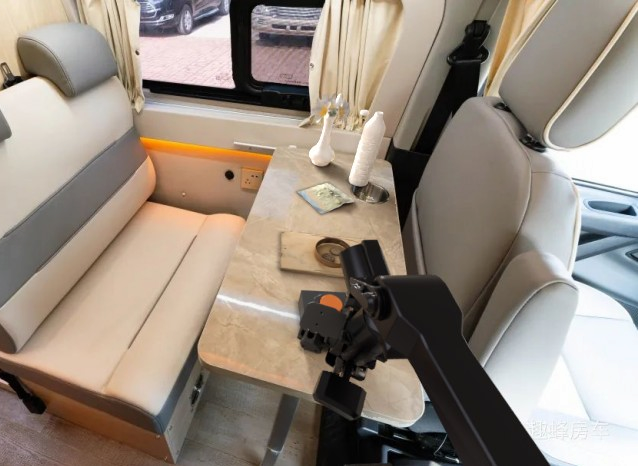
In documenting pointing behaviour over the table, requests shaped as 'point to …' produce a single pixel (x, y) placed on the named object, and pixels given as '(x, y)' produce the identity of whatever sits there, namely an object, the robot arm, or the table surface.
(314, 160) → the flower vase
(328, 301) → the lid button
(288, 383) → the table surface
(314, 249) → the board
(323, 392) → the robot arm
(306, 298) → the jug base
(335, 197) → the topographic map
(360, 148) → the water bottle
